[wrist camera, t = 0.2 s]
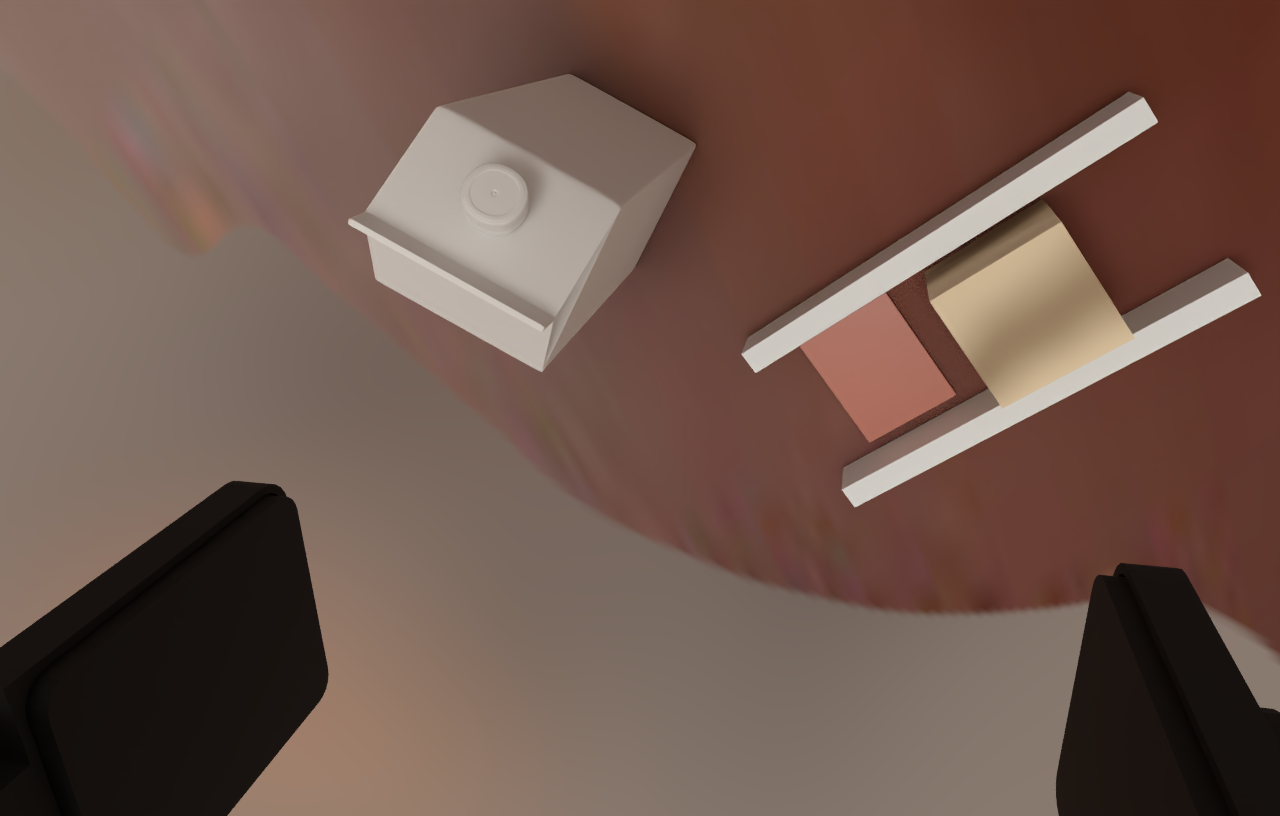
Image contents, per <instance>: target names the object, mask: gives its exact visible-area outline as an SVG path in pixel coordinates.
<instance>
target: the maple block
mask: <svg viewBox="0 0 1280 816" xmlns="http://www.w3.org/2000/svg"><path fill="white" fill-rule="evenodd" d="M924 273H925V279H926V284H927V290H928V296H929V301H930V303H931V304H932V306H933V307H934V309H935V310H936V312H937V313H938V315H939V316H940V318H941V319H942V321H943V322H944V323H945V325H946V326H947V328H948V329H949V331H950V332H951V334H952V335H953V337H954V338H955V340H956V341H957V343H958V344H959V345H960V347H961V348H962V350H963V351H964V353H965V354H966V356H967V357H968V359H969V360H970V362H971V363H972V365H973V366H974V368H975V369H976V370H977V372H978V373H979V375H980V376H981V378H982V379H983V381H984V382H985V384H986V385H987V387H988V388H989V390H990V391H991V393H992V394H993V395H994V397H995V398H996V400H997V401H998V403H999V404H1000V406H1001V407H1002V409H1003V408H1004V407H1006V406H1008V405H1010V404H1012V403H1014V402H1016V401H1018V400H1020V399H1021V398H1023V397H1025V396H1027V395H1029V394H1031V393H1033V392H1035V391H1036V390H1038V389H1040V388H1042V387H1044V386H1046V385H1048V384H1050V383H1052V382H1053V381H1055V380H1057V379H1059V378H1061V377H1063V376H1065V375H1067V374H1069V373H1070V372H1072V371H1074V370H1076V369H1078V368H1080V367H1082V366H1084V365H1085V364H1087V363H1089V362H1091V361H1093V360H1095V359H1097V358H1099V357H1101V356H1102V355H1104V354H1106V353H1108V352H1110V351H1112V350H1114V349H1116V348H1117V347H1119V346H1121V345H1123V344H1125V343H1127V342H1129V341H1131V340H1133V339H1134V338H1135V337H1134V336H1133V334H1132V333H1131V331H1130V329H1129V328H1128V326H1127V325H1126V323H1125V321H1124V320H1123V318H1122V317H1121V315H1120V314H1119V312H1118V310H1117V309H1116V307H1115V306H1114V304H1113V303H1112V301H1111V299H1110V298H1109V296H1108V295H1107V293H1106V291H1105V290H1104V288H1103V287H1102V285H1101V284H1100V282H1099V280H1098V279H1097V277H1096V276H1095V274H1094V273H1093V271H1092V269H1091V268H1090V266H1089V265H1088V263H1087V261H1086V260H1085V258H1084V257H1083V255H1082V254H1081V252H1080V250H1079V249H1078V247H1077V246H1076V244H1075V243H1074V241H1073V239H1072V238H1071V236H1070V235H1069V233H1068V231H1067V230H1066V228H1065V227H1064V225H1063V224H1062V222H1061V221H1060V220H1059V218H1058V217H1057V216H1056V215H1055V213H1054V212H1053V211H1052V210H1051V209H1050V207H1049V206H1048V205H1047V204H1046V203H1045V201H1044V200H1043V199H1041V200H1039V201H1037V202H1036V203H1034V204H1033V205H1031V206H1029V207H1028V208H1026V209H1024V210H1023V211H1021V212H1020V213H1018V214H1016V215H1015V216H1013V217H1012V218H1010V219H1008V220H1007V221H1005V222H1003V223H1002V224H1000V225H999V226H997V227H995V228H994V229H992V230H991V231H989V232H987V233H986V234H984V235H983V236H981V237H979V238H978V239H976V240H974V241H973V242H971V243H970V244H968V245H966V246H965V247H963V248H962V249H960V250H958V251H957V252H955V253H954V254H952V255H950V256H949V257H947V258H945V259H944V260H942V261H941V262H939V263H937V264H936V265H934V266H933V267H931V268H929V269H928V270H926V271H925V272H924Z"/></svg>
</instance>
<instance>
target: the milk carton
mask: <svg viewBox="0 0 1280 816" xmlns="http://www.w3.org/2000/svg"><path fill="white" fill-rule="evenodd" d="M695 148H696V144H695V143H694V142H692V141H691V140H689V139H687V138H686V137H684V136H682V135H680V134H679V133H677V132H675V131H673V130H671V129H670V128H668V127H666V126H664V125H662V124H661V123H659V122H657V121H655V120H653V119H652V118H650V117H648V116H646V115H644V114H643V113H641V112H639V111H637V110H635V109H634V108H632V107H630V106H628V105H626V104H625V103H623V102H621V101H619V100H617V99H616V98H614V97H612V96H610V95H608V94H607V93H605V92H603V91H601V90H599V89H598V88H596V87H594V86H592V85H591V84H589V83H587V82H585V81H583V80H581V79H580V78H578V77H576V76H574V75H571V74H566V75H562V76H558V77H554V78H550V79H546V80H542V81H537V82H533V83H529V84H525V85H521V86H517V87H513V88H509V89H505V90H501V91H497V92H493V93H489V94H485V95H481V96H477V97H472V98H468V99H464V100H460V101H456V102H452V103H448V104H445V105H441V106H439V107H436V109H435V110H434V111H433V113H432V114H431V116H430V117H429V119H428V120H427V122H426V123H425V125H424V126H423V127H422V129H421V130H420V132H419V133H418V135H417V136H416V138H415V139H414V141H413V142H412V144H411V145H410V146H409V148H408V149H407V151H406V152H405V154H404V155H403V157H402V158H401V160H400V161H399V163H398V164H397V165H396V167H395V168H394V170H393V171H392V173H391V174H390V176H389V177H388V179H387V180H386V182H385V183H384V184H383V186H382V187H381V189H380V190H379V192H378V193H377V195H376V196H375V198H374V199H373V201H372V202H371V203H370V205H369V206H368V208H367V209H366V211H365V212H363V213H361V214H359V215H356V216H354V217H351V218H349V221H348V224H349V225H351V226H352V227H354V228H356V229H358V230H360V231H361V232H363V233H365V234H367V236H368V241H369V247H370V252H371V257H372V263H373V268H374V273H375V278H376V280H378V281H379V282H381V283H383V284H384V285H386V286H388V287H389V288H391V289H393V290H395V291H397V292H398V293H400V294H402V295H404V296H405V297H407V298H409V299H411V300H413V301H414V302H416V303H418V304H420V305H422V306H423V307H425V308H427V309H429V310H431V311H432V312H434V313H436V314H438V315H439V316H441V317H443V318H445V319H447V320H448V321H450V322H452V323H454V324H456V325H457V326H459V327H461V328H463V329H465V330H466V331H468V332H470V333H472V334H473V335H475V336H477V337H479V338H481V339H482V340H484V341H486V342H488V343H490V344H491V345H493V346H495V347H497V348H499V349H500V350H502V351H504V352H506V353H507V354H509V355H511V356H513V357H515V358H516V359H518V360H520V361H522V362H524V363H525V364H527V365H529V366H531V367H533V368H535V369H537V370H538V371H541V372H543V370H544V369H545V368H546V366H547V365H548V364H549V363H550V362H551V361H552V360H553V359H554V358H555V356H556V355H557V354H558V353H559V352H560V351H561V350H562V349H563V348H564V346H565V345H566V344H567V343H568V342H569V341H570V340H571V339H572V337H573V336H574V335H575V334H576V333H577V332H578V331H579V330H580V329H581V327H582V326H583V325H584V324H585V323H586V322H587V321H588V320H589V318H590V317H591V316H592V315H593V314H594V313H595V312H596V311H597V310H598V308H599V307H600V306H601V305H602V304H603V303H604V302H605V301H606V300H607V298H608V297H609V296H610V295H611V294H612V293H613V292H614V291H615V289H616V288H617V287H618V286H619V285H620V284H621V283H622V282H623V281H624V279H625V278H626V277H627V276H628V275H629V274H630V273H631V272H632V271H633V269H634V268H635V266H636V264H637V262H638V260H639V258H640V256H641V254H642V252H643V250H644V248H645V246H646V244H647V242H648V240H649V238H650V236H651V235H652V233H653V231H654V229H655V227H656V225H657V223H658V221H659V219H660V217H661V215H662V213H663V211H664V209H665V207H666V205H667V203H668V201H669V199H670V197H671V195H672V193H673V191H674V189H675V187H676V185H677V183H678V181H679V179H680V177H681V175H682V173H683V171H684V169H685V167H686V165H687V163H688V161H689V159H690V157H691V155H692V153H693V151H694V149H695Z"/></svg>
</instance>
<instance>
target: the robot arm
mask: <svg viewBox="0 0 1280 816" xmlns="http://www.w3.org/2000/svg"><path fill="white" fill-rule="evenodd" d="M327 683H328V666H327V661H326V656H325V651H324V646H323V641H322V635H321V630H320V625H319V619H318V614H317V609H316V604H315V599H314V594H313V589H312V583H311V578H310V573H309V568H308V563H307V557H306V552H305V547H304V542H303V537H302V531H301V526H300V521H299V516H298V511H297V507H296V504H295V503H294V501H293V500H292V499H291V498H289V497H286V494H285V492H284V491H283V490H282V488H281V487H279V486H277V485H275V484H265V483H253V482H243V481H232V482H229V483H227V484H225V485H224V486H223V487H221V488H220V489H219V490H217V491H216V492H214V493H213V494H211V495H210V496H209V497H207V498H206V499H205V500H203V501H202V502H200V503H199V504H198V505H196V506H195V507H194V508H192V509H191V510H189V511H188V512H187V513H185V514H184V515H183V516H181V517H180V518H178V519H177V520H176V521H174V522H173V523H172V524H170V525H169V526H167V527H166V528H165V529H163V530H162V531H160V532H159V533H158V534H157V535H155V536H154V537H152V538H151V539H149V540H148V541H147V542H146V543H144V544H142V545H141V546H140V547H138V548H137V549H136V550H134V551H133V552H131V553H130V554H129V555H127V556H126V557H125V558H123V559H122V560H120V561H119V562H118V563H116V564H115V565H114V566H112V567H111V568H109V569H108V570H107V571H105V572H104V573H102V574H101V575H100V576H98V577H97V578H96V579H94V580H93V581H91V582H90V583H89V584H87V585H86V586H85V587H83V588H82V589H80V590H79V591H78V592H76V593H75V594H74V595H72V596H71V597H69V598H68V599H67V600H65V601H64V602H62V603H61V604H60V605H58V606H57V607H56V608H54V609H53V610H51V611H50V612H49V613H47V614H46V615H44V616H43V617H42V618H40V619H39V620H38V621H36V622H35V623H34V624H32V625H31V626H29V627H28V628H27V629H25V630H24V631H22V632H21V633H20V634H18V635H17V636H16V637H14V638H13V639H11V640H10V641H9V642H7V643H6V644H4V645H3V646H2V647H0V816H227V815H228V814H229V813H230V812H231V810H232V809H233V808H234V807H235V805H236V804H237V803H238V802H239V800H240V799H241V798H242V797H243V795H244V794H245V793H246V792H247V790H248V789H249V788H250V787H251V786H252V784H253V783H254V782H255V781H256V779H257V778H258V777H259V776H260V774H261V773H262V772H263V771H264V769H265V768H266V767H267V766H268V765H269V763H270V762H271V761H272V760H273V758H274V757H275V756H276V755H277V753H278V752H279V751H280V750H281V748H282V747H283V746H284V745H285V743H286V742H287V741H288V740H289V739H290V737H291V736H292V735H293V734H294V732H295V731H296V730H297V729H298V727H299V726H300V725H301V724H302V722H303V721H304V720H305V719H306V717H307V716H308V715H309V714H310V713H311V711H312V710H313V709H314V708H315V706H316V705H317V704H318V703H319V701H320V700H321V698H322V697H323V695H324V692H325V690H326V686H327ZM1056 799H1057V808H1058V813H1059V816H1280V712H1278V711H1276V710H1274V709H1267V708H1260V707H1259V705H1258V704H1257V702H1256V700H1255V698H1254V696H1253V695H1252V693H1251V691H1250V689H1249V687H1248V685H1247V684H1246V682H1245V680H1244V678H1243V676H1242V675H1241V673H1240V671H1239V669H1238V667H1237V666H1236V664H1235V662H1234V660H1233V658H1232V656H1231V655H1230V653H1229V651H1228V649H1227V648H1226V646H1225V644H1224V642H1223V640H1222V638H1221V637H1220V635H1219V633H1218V631H1217V629H1216V628H1215V626H1214V624H1213V622H1212V620H1211V618H1210V617H1209V615H1208V613H1207V611H1206V609H1205V608H1204V606H1203V604H1202V602H1201V600H1200V598H1199V597H1198V595H1197V593H1196V591H1195V589H1194V588H1193V586H1192V584H1191V582H1190V580H1189V579H1188V577H1187V575H1186V574H1185V572H1184V571H1183V570H1182V569H1178V568H1169V567H1159V566H1148V565H1137V564H1126V563H1120V564H1119V565H1118V566H1117V567H1116V570H1115V572H1114V574H1113V576H1106V575H1098V576H1097V577H1096V578H1095V581H1094V584H1093V587H1092V592H1091V597H1090V603H1089V608H1088V613H1087V618H1086V624H1085V629H1084V634H1083V639H1082V645H1081V651H1080V656H1079V660H1078V666H1077V671H1076V677H1075V681H1074V686H1073V692H1072V698H1071V702H1070V708H1069V713H1068V718H1067V723H1066V728H1065V734H1064V739H1063V744H1062V749H1061V755H1060V760H1059V765H1058V770H1057V778H1056Z"/></svg>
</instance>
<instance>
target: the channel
mask: <svg viewBox="0 0 1280 816" xmlns="http://www.w3.org/2000/svg"><path fill="white" fill-rule="evenodd" d="M1156 123H1158V121H1157V119H1156V117H1155V116H1154V114H1153V112H1152V111H1151V109H1150V107H1149V106H1148V104H1147V102H1146V101H1145V99H1144V97H1141V96H1139V95H1136V94H1133V93H1130V92H1127V93H1126V94H1124V95H1123V96H1121V97H1120V98H1118V99H1117V100H1115V101H1113V102H1112V103H1110V104H1109V105H1107V106H1106V107H1104V108H1103V109H1101V110H1100V111H1098V112H1096V113H1095V114H1093V115H1092V116H1090V117H1089V118H1087V119H1086V120H1084V121H1082V122H1081V123H1079V124H1078V125H1076V126H1075V127H1073V128H1072V129H1070V130H1069V131H1067V132H1065V133H1064V134H1062V135H1061V136H1059V137H1058V138H1056V139H1055V140H1053V141H1051V142H1050V143H1048V144H1047V145H1045V146H1044V147H1042V148H1041V149H1039V150H1038V151H1036V152H1034V153H1033V154H1031V155H1030V156H1028V157H1027V158H1025V159H1024V160H1022V161H1021V162H1019V163H1017V164H1016V165H1014V166H1013V167H1011V168H1010V169H1008V170H1007V171H1005V172H1003V173H1002V174H1000V175H999V176H997V177H996V178H994V179H993V180H991V181H990V182H988V183H986V184H985V185H983V186H982V187H980V188H979V189H977V190H976V191H974V192H972V193H971V194H969V195H968V196H966V197H965V198H963V199H962V200H960V201H959V202H957V203H955V204H954V205H952V206H951V207H949V208H948V209H946V210H945V211H943V212H941V213H940V214H938V215H937V216H935V217H934V218H932V219H931V220H929V221H928V222H926V223H924V224H923V225H921V226H920V227H918V228H917V229H915V230H914V231H912V232H910V233H909V234H907V235H906V236H904V237H903V238H901V239H900V240H898V241H897V242H895V243H893V244H892V245H890V246H889V247H887V248H886V249H884V250H883V251H881V252H879V253H878V254H876V255H875V256H873V257H872V258H870V259H869V260H867V261H866V262H864V263H862V264H861V265H859V266H858V267H856V268H855V269H853V270H852V271H850V272H848V273H847V274H845V275H844V276H842V277H841V278H839V279H838V280H836V281H835V282H833V283H831V284H830V285H828V286H827V287H825V288H824V289H822V290H821V291H819V292H817V293H816V294H814V295H813V296H811V297H810V298H808V299H807V300H805V301H804V302H802V303H800V304H799V305H797V306H796V307H794V308H793V309H791V310H790V311H788V312H787V313H785V314H783V315H782V316H780V317H779V318H777V319H776V320H774V321H773V322H771V323H769V324H768V325H766V326H765V327H763V328H762V329H760V330H759V331H757V332H756V333H754V334H752V335H751V336H749V337H748V338H747V341H746V343H745V346H744V349H743V351H742V355H743V357H744V358H745V360H746V361H747V362H748V364H749V365H750V366H751V368H752V369H753V370H754V372H755V373H757V372H758V371H760V370H761V369H763V368H765V367H766V366H768V365H769V364H771V363H773V362H774V361H776V360H777V359H779V358H781V357H782V356H784V355H785V354H787V353H789V352H790V351H792V350H794V349H795V348H797V347H798V346H800V347H801V349H802V350H803V351H804V353H805V354H806V355H807V357H808V358H809V360H810V361H811V362H812V364H813V365H814V367H815V368H816V369H817V371H818V372H819V373H820V375H821V376H822V378H823V379H824V380H825V382H826V383H827V385H828V386H829V387H830V389H831V390H832V391H833V393H834V394H835V396H836V397H837V398H838V400H839V401H840V403H841V404H842V405H843V407H844V408H845V409H846V411H847V412H848V414H849V415H850V416H851V418H852V419H853V421H854V422H855V423H856V425H857V426H858V427H859V429H860V430H861V432H862V433H863V434H864V436H865V437H866V439H867V440H868V441H869V443H870V442H872V441H873V440H875V439H877V438H879V437H881V436H883V435H884V434H886V433H888V432H890V431H892V430H893V429H895V428H897V427H899V426H901V425H903V424H904V423H906V422H908V421H910V420H912V419H913V418H915V417H917V416H919V415H921V414H922V413H924V412H926V411H928V410H930V409H932V408H933V407H935V406H937V405H939V404H941V403H942V402H944V401H946V400H948V399H950V398H952V397H953V396H955V395H956V393H955V391H954V390H953V388H952V387H951V385H950V384H949V383H948V381H947V380H946V378H945V377H944V375H943V374H942V372H941V371H940V370H939V368H938V367H937V365H936V364H935V362H934V361H933V359H932V358H931V357H930V355H929V354H928V352H927V351H926V349H925V348H924V346H923V345H922V343H921V342H920V341H919V339H918V338H917V336H916V335H915V333H914V332H913V330H912V329H911V328H910V326H909V325H908V323H907V322H906V320H905V319H904V317H903V316H902V315H901V313H900V312H899V310H898V309H897V307H896V306H895V304H894V303H893V301H892V300H891V299H890V297H889V296H888V294H887V293H886V292H887V291H888V290H890V289H891V288H893V287H895V286H896V285H898V284H899V283H901V282H903V281H904V280H906V279H907V278H909V277H911V276H912V275H914V274H915V273H917V272H919V271H920V270H922V269H924V268H925V267H927V266H928V265H930V264H932V263H933V262H935V261H936V260H938V259H940V258H941V257H943V256H944V255H946V254H948V253H949V252H951V251H952V250H954V249H956V248H957V247H959V246H960V245H962V244H964V243H965V242H967V241H968V240H970V239H972V238H973V237H975V236H976V235H978V234H980V233H981V232H983V231H984V230H986V229H988V228H989V227H991V226H993V225H994V224H996V223H997V222H999V221H1001V220H1002V219H1004V218H1005V217H1007V216H1009V215H1010V214H1012V213H1013V212H1015V211H1017V210H1018V209H1020V208H1021V207H1023V206H1025V205H1026V204H1028V203H1029V202H1031V201H1033V200H1034V199H1036V198H1037V197H1039V196H1041V195H1042V194H1044V193H1045V192H1047V191H1049V190H1050V189H1052V188H1053V187H1055V186H1057V185H1058V184H1060V183H1062V182H1063V181H1065V180H1066V179H1068V178H1070V177H1071V176H1073V175H1074V174H1076V173H1078V172H1079V171H1081V170H1082V169H1084V168H1086V167H1087V166H1089V165H1090V164H1092V163H1094V162H1095V161H1097V160H1098V159H1100V158H1102V157H1103V156H1105V155H1106V154H1108V153H1110V152H1111V151H1113V150H1114V149H1116V148H1118V147H1119V146H1121V145H1123V144H1124V143H1126V142H1127V141H1129V140H1131V139H1132V138H1134V137H1135V136H1137V135H1139V134H1140V133H1142V132H1143V131H1145V130H1147V129H1148V128H1150V127H1151V126H1153V125H1155V124H1156ZM1259 296H1261V294H1260V292H1259V290H1258V289H1257V287H1256V285H1255V284H1254V282H1253V280H1252V279H1251V277H1250V275H1249V274H1248V272H1246V271H1245V270H1244V269H1242V268H1241V267H1240V266H1238V265H1237V264H1235V263H1234V262H1233V261H1231V260H1230V259H1229V258H1227V259H1225V260H1223V261H1221V262H1219V263H1218V264H1216V265H1214V266H1212V267H1210V268H1208V269H1207V270H1205V271H1203V272H1201V273H1199V274H1197V275H1196V276H1194V277H1192V278H1190V279H1188V280H1186V281H1185V282H1183V283H1181V284H1179V285H1177V286H1175V287H1174V288H1172V289H1170V290H1168V291H1166V292H1164V293H1163V294H1161V295H1159V296H1157V297H1155V298H1153V299H1152V300H1150V301H1148V302H1146V303H1144V304H1142V305H1141V306H1139V307H1137V308H1135V309H1133V310H1131V311H1130V312H1128V313H1126V314H1124V315H1122V316H1121V317H1122V318H1123V320H1124V321H1125V323H1126V325H1127V326H1128V328H1129V329H1130V331H1131V333H1132V334H1133V336H1134V337H1135V338H1134V339H1133V340H1131V341H1129V342H1127V343H1125V344H1123V345H1121V346H1119V347H1117V348H1116V349H1114V350H1112V351H1110V352H1108V353H1106V354H1104V355H1102V356H1101V357H1099V358H1097V359H1095V360H1093V361H1091V362H1089V363H1087V364H1085V365H1084V366H1082V367H1080V368H1078V369H1076V370H1074V371H1072V372H1070V373H1069V374H1067V375H1065V376H1063V377H1061V378H1059V379H1057V380H1055V381H1053V382H1052V383H1050V384H1048V385H1046V386H1044V387H1042V388H1040V389H1038V390H1036V391H1035V392H1033V393H1031V394H1029V395H1027V396H1025V397H1023V398H1021V399H1020V400H1018V401H1016V402H1014V403H1012V404H1010V405H1008V406H1006V407H1004V408H1003V409H1002V407H1001V406H1000V404H999V403H998V401H997V400H996V398H995V397H994V395H993V394H992V393H991V391H990V390H989V388H988V389H986V390H985V391H983V392H981V393H979V394H977V395H975V396H974V397H972V398H970V399H968V400H966V401H964V402H963V403H961V404H959V405H957V406H955V407H953V408H952V409H950V410H948V411H946V412H944V413H942V414H941V415H939V416H937V417H935V418H933V419H931V420H930V421H928V422H926V423H924V424H922V425H920V426H919V427H917V428H915V429H913V430H911V431H909V432H908V433H906V434H904V435H902V436H900V437H898V438H897V439H895V440H893V441H891V442H889V443H887V444H886V445H884V446H882V447H880V448H878V449H876V450H875V451H873V452H871V453H869V454H867V455H865V456H864V457H862V458H860V459H858V460H856V461H854V462H853V463H851V464H849V465H847V466H845V467H843V479H842V491H843V492H844V493H845V495H846V496H847V497H848V499H849V500H850V502H851V503H852V504H853V506H854V507H857V506H859V505H861V504H862V503H864V502H866V501H868V500H870V499H872V498H874V497H876V496H878V495H880V494H882V493H884V492H885V491H887V490H889V489H891V488H893V487H895V486H897V485H899V484H901V483H903V482H905V481H907V480H908V479H910V478H912V477H914V476H916V475H918V474H920V473H922V472H924V471H926V470H928V469H930V468H931V467H933V466H935V465H937V464H939V463H941V462H943V461H945V460H947V459H949V458H951V457H953V456H954V455H956V454H958V453H960V452H962V451H964V450H966V449H968V448H970V447H972V446H974V445H976V444H977V443H979V442H981V441H983V440H985V439H987V438H989V437H991V436H993V435H995V434H997V433H999V432H1001V431H1002V430H1004V429H1006V428H1008V427H1010V426H1012V425H1014V424H1016V423H1018V422H1020V421H1022V420H1024V419H1025V418H1027V417H1029V416H1031V415H1033V414H1035V413H1037V412H1039V411H1041V410H1043V409H1045V408H1047V407H1048V406H1050V405H1052V404H1054V403H1056V402H1058V401H1060V400H1062V399H1064V398H1066V397H1068V396H1070V395H1071V394H1073V393H1075V392H1077V391H1079V390H1081V389H1083V388H1085V387H1087V386H1089V385H1091V384H1093V383H1094V382H1096V381H1098V380H1100V379H1102V378H1104V377H1106V376H1108V375H1110V374H1112V373H1114V372H1116V371H1118V370H1119V369H1121V368H1123V367H1125V366H1127V365H1129V364H1131V363H1133V362H1135V361H1137V360H1139V359H1141V358H1142V357H1144V356H1146V355H1148V354H1150V353H1152V352H1154V351H1156V350H1158V349H1160V348H1162V347H1164V346H1165V345H1167V344H1169V343H1171V342H1173V341H1175V340H1177V339H1179V338H1181V337H1183V336H1185V335H1187V334H1188V333H1190V332H1192V331H1194V330H1196V329H1198V328H1200V327H1202V326H1204V325H1206V324H1208V323H1210V322H1211V321H1213V320H1215V319H1217V318H1219V317H1221V316H1223V315H1225V314H1227V313H1229V312H1231V311H1233V310H1234V309H1236V308H1238V307H1240V306H1242V305H1244V304H1246V303H1248V302H1250V301H1252V300H1254V299H1256V298H1258V297H1259Z"/></svg>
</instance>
